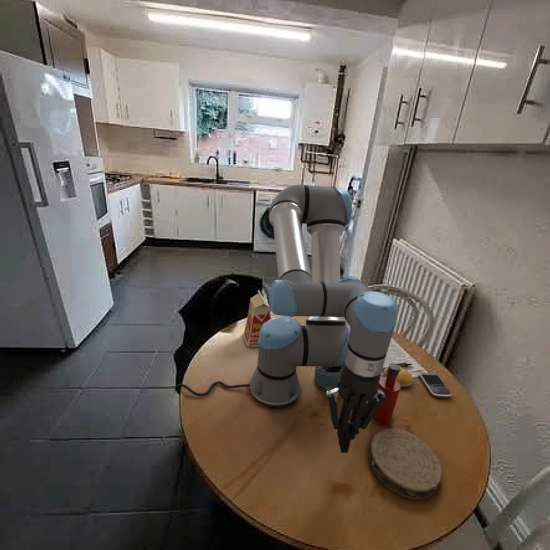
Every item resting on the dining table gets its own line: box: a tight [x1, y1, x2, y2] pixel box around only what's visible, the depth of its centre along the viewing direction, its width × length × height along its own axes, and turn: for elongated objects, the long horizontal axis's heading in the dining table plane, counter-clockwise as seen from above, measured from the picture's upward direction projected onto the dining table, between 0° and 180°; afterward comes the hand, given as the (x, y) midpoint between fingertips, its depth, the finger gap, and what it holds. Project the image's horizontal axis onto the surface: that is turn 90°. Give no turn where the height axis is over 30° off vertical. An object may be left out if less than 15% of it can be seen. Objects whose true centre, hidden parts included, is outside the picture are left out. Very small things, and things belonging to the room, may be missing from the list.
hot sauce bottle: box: [372, 362, 402, 426], centre depth 85 cm, size 6×6×18 cm
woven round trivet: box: [368, 428, 443, 500], centre depth 75 cm, size 16×16×3 cm
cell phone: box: [418, 372, 452, 398], centre depth 102 cm, size 6×11×1 cm, turn 1°
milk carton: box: [242, 289, 272, 348], centre depth 115 cm, size 9×9×20 cm
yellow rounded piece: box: [383, 364, 414, 388], centre depth 104 cm, size 8×9×4 cm
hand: (343, 447), depth 72 cm, fingers closed
